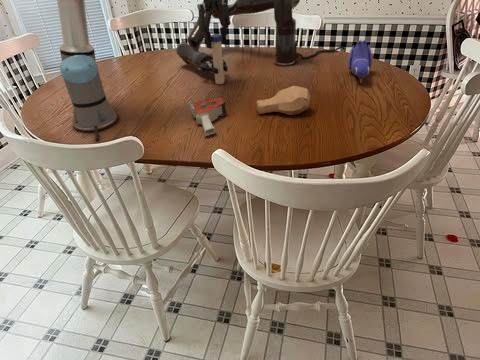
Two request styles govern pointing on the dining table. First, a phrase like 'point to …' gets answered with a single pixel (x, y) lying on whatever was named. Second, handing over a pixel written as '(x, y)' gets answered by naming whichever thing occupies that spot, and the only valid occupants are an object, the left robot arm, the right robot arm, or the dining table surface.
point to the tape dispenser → (207, 113)
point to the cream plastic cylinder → (218, 62)
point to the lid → (216, 38)
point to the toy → (360, 59)
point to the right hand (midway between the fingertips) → (221, 70)
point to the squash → (286, 101)
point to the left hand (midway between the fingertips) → (216, 45)
